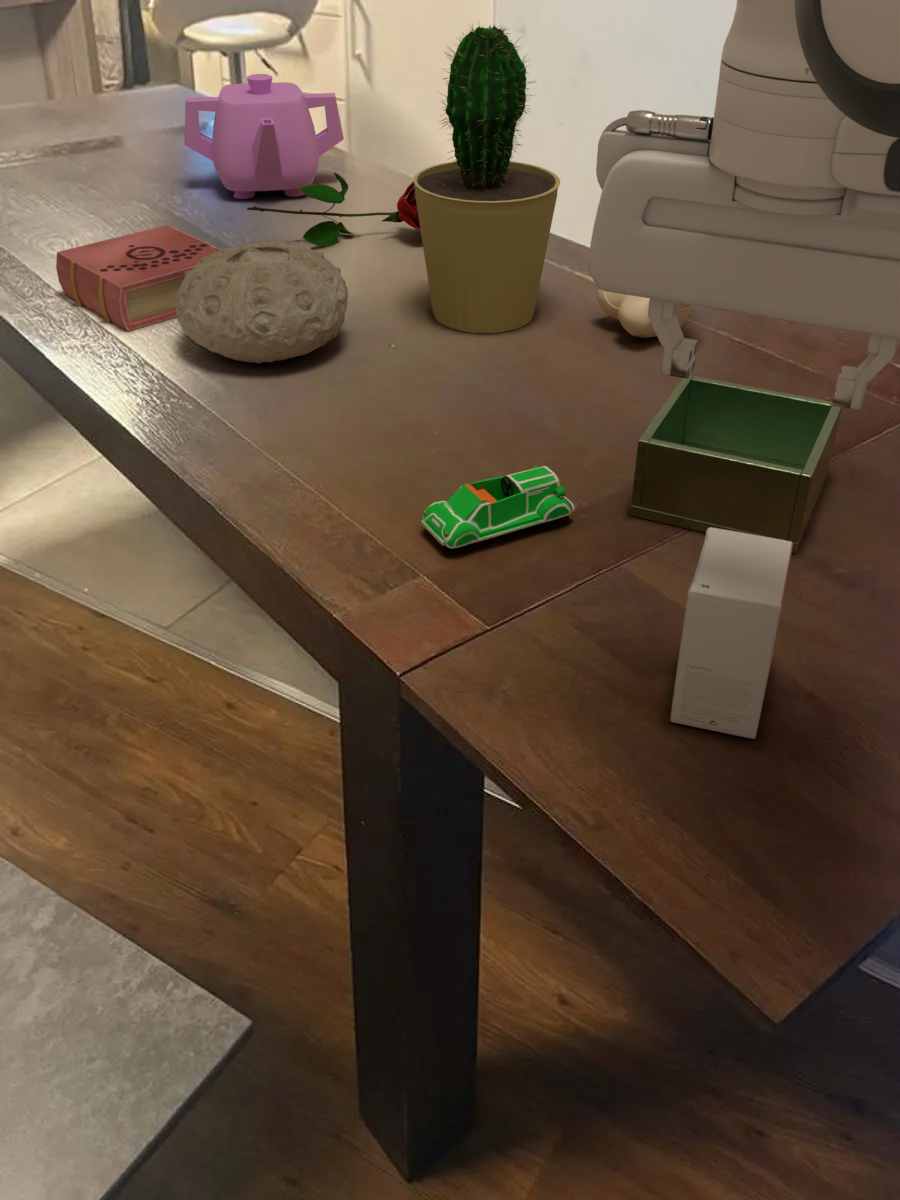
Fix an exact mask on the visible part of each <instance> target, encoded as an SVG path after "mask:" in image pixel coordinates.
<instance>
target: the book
mask: <svg viewBox="0 0 900 1200" xmlns="http://www.w3.org/2000/svg"><path fill="white" fill-rule="evenodd" d="M220 250H222V249H221V248H219V247H217V246H214V245H213V244H210V243H208V242H206V241H204V240H201V239H200V238H197V237H196V236H193V235H190V234H189V233H186V232H184V231H182V230H180V229H177V228H175V227H173V226H172V225H169V224H165V225H160V226H157V227H153V228H149V229H144V230H140V231H137V232H133V233H128V234H124V235H120V236H116V237H112V238H108V239H104V240H100V241H96V242H92V243H87V244H84V245H79V246H76V247H72V248H67V249H64V250H60V251H57V252H56V261H55V262H56V264H55V268H56V273H57V278H58V283H59V285H60V287H61V289H62V291H63V293H64V295H65V296H67V297H68V298H70V299H72V300H73V301H75V302H76V303H77V306H78V307H86V308H87V309H89V310H90V311H93V312H95V313H96V314H98V315H100V316H101V317H103V318H104V319H105V321H106V322H107V324H108V323H113V324H115V325H116V326H119V327H120V328H122V329H124V330H125V331H128V332H130V331H134V330H137V329H140V328H144V327H147V326H150V325H151V326H152V325H154V324H158V323H161V322H164V321H168V320H171V319H174V318H177V315H176V307H177V304H176V299H177V294H178V291H179V289H180V286H181V283H182V282H183V280H184V278H185V271H189V270H192V269H193V268H194V267H195V266H196V264H197V263H198V262H199V261H200V260H201V259H202V258H205V257H206V256H208V255H210V254H212V253H214V252H217V251H220Z"/></svg>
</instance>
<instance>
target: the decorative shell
mask: <svg viewBox="0 0 900 1200" xmlns="http://www.w3.org/2000/svg"><path fill="white" fill-rule="evenodd" d="M341 273H342V270H341V268H340V267H339V266H335V265H334V264H333V263H332V262H331V261H330V260H329V259H327V257H325V256H324V252H323V251H317V250H313V249H311V248H309V247H306V246H303V245H296V244H295V242H294V241H289V242H287V241H279V240H268V241H266V240H262V241H260V242H259V241H258V242H253V243H246V244H242V245H241V244H239V245H236V246H234V247H233V246H232V247H229V246H228V247H224V248H222V249H221V250H220V251H217V252H214V253H212V254H210V255H208V256H206V257H205V258H202V259H201V260H200V261H199V262H198V263H197V264H196V266H195V267H194V268H193V269H192V270H189V271H185V278H184V280H183V282H182V283H181V286H180V289H179V291H178V294H177V299H176V304H177V307H176V315H177V317H176V318H177V322H178V323H179V326H180V327H181V329H182V330H183V332H184V333H185V335H186V336H188V337H189V339H191V340H192V341H193V342H195V343H196V344H197V345H199V346H201V347H204V348H205V349H207V350H209V351H210V352H211V353H216V354H218V355H221V356H223V357H224V358H228V359H231V360H233V361H238V362H246V363H256V364H258V365H259V364H261V363H273V362H276V361H286V360H288V359H293V358H295V357H300V356H304V355H307V354H309V353H312V352H313V351H314V350H316V349H318V348H320V347H323V346H325V345H326V344H327V343H328V342H329V341H330V340H331V341H332V340H334V339H335V338H336V337H337V336H338V333H339V332H340V329H342V327H343V324H344V322H345V315H346V312H347V310H348V298H349V289H348V286H347V284H346V281H345V279H344V278H343V276H342V274H341Z"/></svg>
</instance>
